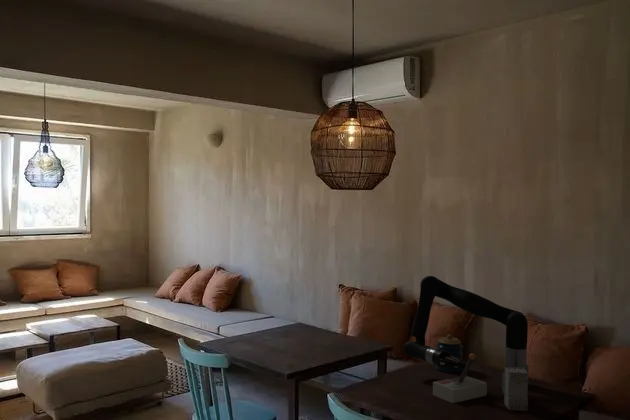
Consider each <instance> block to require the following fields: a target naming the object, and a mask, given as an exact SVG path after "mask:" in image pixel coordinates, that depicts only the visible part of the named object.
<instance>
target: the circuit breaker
mask: <svg viewBox="0 0 630 420" xmlns="http://www.w3.org/2000/svg"><path fill="white" fill-rule="evenodd" d="M528 387H529V371H528V372H527V371H526V370H525V369H524V368H520V367H505V366H504V371H503V372H502V373H501V392H502V393H503V397H504V398H503V404H504V405H505V406H506V408H507V409H508V410H510V411H511V410H512V411H529V410H528V406H529V398H528Z"/></svg>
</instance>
